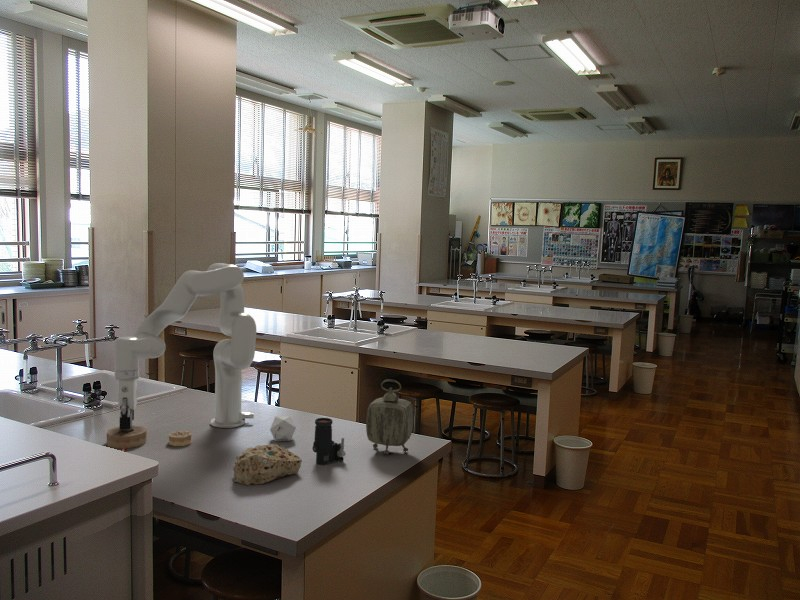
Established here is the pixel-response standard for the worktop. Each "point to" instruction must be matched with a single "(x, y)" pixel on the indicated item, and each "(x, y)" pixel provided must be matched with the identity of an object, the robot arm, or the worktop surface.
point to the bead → (126, 437)
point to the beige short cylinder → (179, 438)
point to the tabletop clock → (389, 420)
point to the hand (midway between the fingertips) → (126, 424)
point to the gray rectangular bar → (130, 423)
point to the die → (282, 428)
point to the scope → (326, 443)
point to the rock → (265, 464)
